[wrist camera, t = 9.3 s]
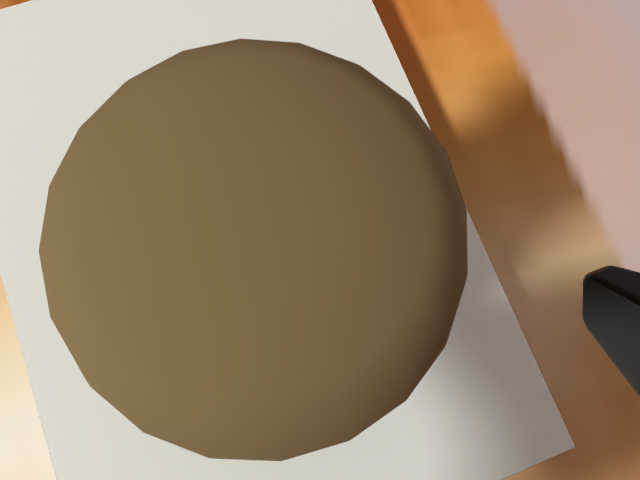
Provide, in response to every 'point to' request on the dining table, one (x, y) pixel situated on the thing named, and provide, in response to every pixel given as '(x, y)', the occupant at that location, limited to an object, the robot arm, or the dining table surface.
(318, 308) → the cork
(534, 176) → the dining table surface
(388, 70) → the white board
